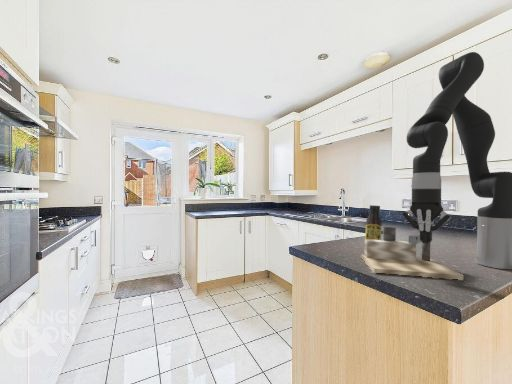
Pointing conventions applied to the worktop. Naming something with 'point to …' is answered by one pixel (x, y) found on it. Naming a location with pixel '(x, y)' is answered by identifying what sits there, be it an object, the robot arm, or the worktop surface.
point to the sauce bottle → (373, 224)
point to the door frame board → (412, 268)
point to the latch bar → (414, 238)
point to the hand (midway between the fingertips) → (425, 243)
